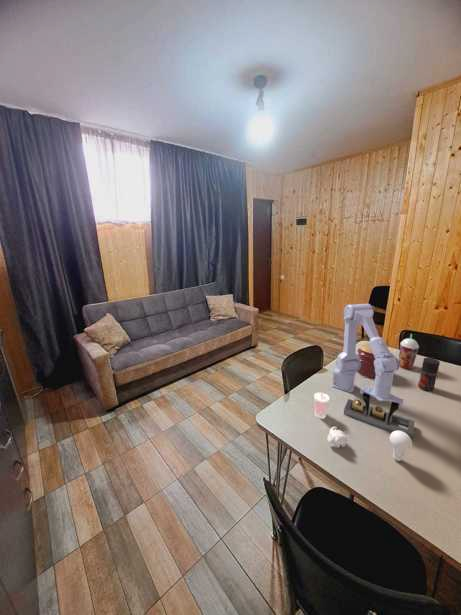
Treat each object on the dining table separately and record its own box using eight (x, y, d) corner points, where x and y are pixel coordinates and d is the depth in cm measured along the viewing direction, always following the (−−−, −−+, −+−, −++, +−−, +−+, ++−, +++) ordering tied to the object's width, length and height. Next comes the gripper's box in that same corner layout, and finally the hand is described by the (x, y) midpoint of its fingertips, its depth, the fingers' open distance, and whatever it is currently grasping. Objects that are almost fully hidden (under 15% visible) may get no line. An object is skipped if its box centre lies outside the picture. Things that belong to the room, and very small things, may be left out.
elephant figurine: (322, 438, 93) (323, 425, 92) (343, 436, 94) (344, 423, 92) (331, 453, 87) (332, 439, 85) (352, 451, 87) (354, 437, 86)
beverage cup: (316, 407, 109) (319, 380, 105) (330, 414, 105) (333, 386, 101) (310, 414, 105) (312, 386, 101) (323, 422, 101) (326, 392, 97)
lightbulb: (382, 452, 86) (386, 427, 83) (398, 450, 87) (403, 425, 84) (394, 468, 80) (400, 441, 77) (412, 466, 81) (418, 439, 78)
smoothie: (418, 370, 135) (425, 337, 129) (402, 370, 135) (409, 337, 129) (407, 362, 143) (413, 331, 137) (393, 363, 143) (398, 331, 137)
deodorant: (436, 392, 117) (442, 364, 112) (421, 391, 118) (427, 363, 114) (429, 385, 122) (435, 358, 118) (415, 384, 123) (421, 357, 119)
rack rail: (343, 413, 105) (344, 409, 104) (348, 403, 111) (348, 398, 110) (412, 439, 91) (413, 434, 90) (413, 426, 97) (414, 421, 97)
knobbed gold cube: (370, 420, 101) (372, 409, 100) (372, 414, 104) (374, 403, 103) (382, 424, 99) (384, 412, 97) (383, 418, 102) (385, 407, 100)
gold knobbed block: (351, 413, 105) (352, 402, 104) (353, 408, 108) (354, 397, 107) (361, 417, 103) (362, 406, 101) (363, 412, 106) (364, 401, 104)
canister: (357, 363, 144) (361, 335, 139) (383, 370, 137) (387, 340, 132) (353, 373, 134) (356, 344, 129) (380, 381, 127) (385, 350, 122)
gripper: (360, 383, 98) (356, 412, 101) (404, 396, 89) (398, 427, 93) (363, 375, 103) (360, 402, 107) (405, 386, 94) (400, 416, 98)
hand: (378, 413), depth 100 cm, fingers open, 7 cm apart
